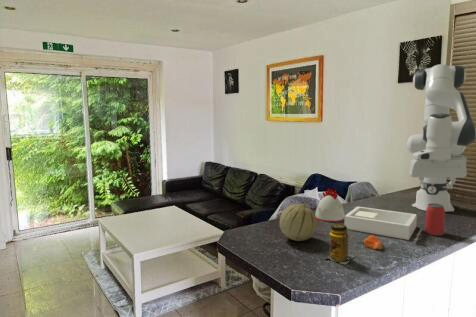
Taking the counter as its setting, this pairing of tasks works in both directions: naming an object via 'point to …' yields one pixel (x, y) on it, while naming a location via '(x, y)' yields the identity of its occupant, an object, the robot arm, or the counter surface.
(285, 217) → the cantaloupe
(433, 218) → the beer can
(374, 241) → the rock
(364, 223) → the tray
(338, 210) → the kitchen timer
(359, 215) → the cream rectangular box
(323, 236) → the counter surface
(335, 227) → the condiment
